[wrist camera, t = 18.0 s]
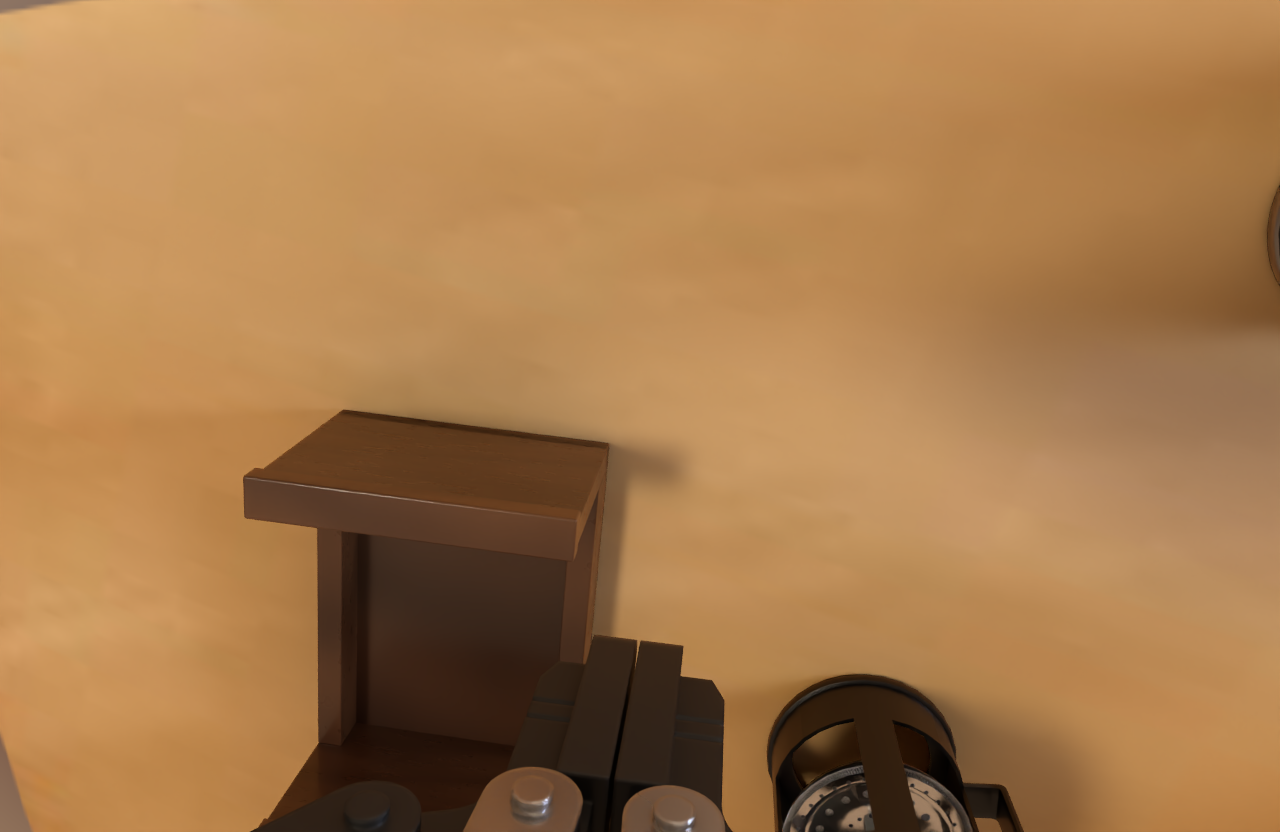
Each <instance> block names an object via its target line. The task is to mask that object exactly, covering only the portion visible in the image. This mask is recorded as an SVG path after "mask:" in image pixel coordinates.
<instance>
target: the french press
mask: <svg viewBox="0 0 1280 832" xmlns="http://www.w3.org/2000/svg"><path fill="white" fill-rule="evenodd" d="M849 722H854V723H855V728H856V734H857V739H858V744H859V750H860V755H861V760H860V761H854V762H851V763H847V764H843V765H841V766H838V767H836V768H834V769H831V770H829V771H827V772H825V773H824V774H822V775H821V776H819V777H817V778H816V779H814V780H813V781H812V782H811V783H810V784H809V785H808V786H806V787H805V788H804V789H803V788H802V786H801V784H800V783H799V781H798V779H797V778H796V775H795V772H794V769H793V763H792V758H793V753H794V752H795V751H796V750H797V749H798V748H799V747H800V746H801V745H802V744H803V743H804V742H805V741H806V740H808V739H810V738H811V737H813V736H814V735H816V734H817V733H819V732H821V731H823V730H826V729H828V728H831V727H833V726H836V725H840V724H845V723H849ZM893 724H896V725H899V726H903V727H906V728H909V729H911V730H913V731H915V732H917V733H919V734H921V735H923V736H924V737H925V739H926V741H927V743H928V746H929V751H930V763H929V768H928V773H927V774H926V773H925V772H923V771H921V770H919V769H917V768H915V767H912V766H910V765H907V764H904V763H903V761H902V757H901V753H900V749H899V745H898V741H897V738H896V734H895V730H894V726H893ZM767 762H768V771H769V774H770V777H771V780H772V783H773V799H774V819H775V832H782V828H783V832H979V831H978V828H977V825H976V822H975V819H974V817H975V818H992V819H995V820H997V821H998V823H999V825H1000V828H1001V830H1002V832H1024V831H1023V829H1022V826H1021V824H1020V821H1019V819H1018V816H1017V814H1016V811H1015V809H1014V806H1013V804H1012V801H1011V799H1010V796H1009V794H1008V791H1007V789H1006V788H1005V787H1004V786H1002V785H997V784H979V783H963V782H962V778H961V774H960V771H959V768H958V765H957V762H956V747H955V744H954V740H953V736H952V732H951V730H950V728H949V726H948V724H947V722H946V720H945V718H944V716H943V715H942V714H941V712H940V711H939V710H938V709H937V708H936V707H935V705H934V704H933V703H932V702H931V701H930V700H929V699H927V698H926V697H925V696H923V695H922V694H921V693H920V692H918V691H917V690H915V689H913V688H911V687H909V686H907V685H905V684H903V683H901V682H898V681H895V680H892V679H888V678H885V677H880V676H872V675H846V676H841V677H837V678H832V679H827V680H825V681H823V682H820V683H818V684H815V685H813V686H811V687H809V688H808V689H806V690H804V691H803V692H801V693H800V694H798V695H797V696H796V697H794V698H793V699H792V700H791V701H790V702H789V703H788V704H787V705H786V706H785V707H784V709H783V710H782V712H781V713H780V714H779V716H778V717H777V719H776V720H775V722H774V725H773V727H772V730H771V733H770V735H769V739H768V746H767Z"/></svg>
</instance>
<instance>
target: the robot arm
mask: <svg viewBox="0 0 1280 832" xmlns="http://www.w3.org/2000/svg"><path fill="white" fill-rule="evenodd" d="M1267 243H1268V253H1269V259H1270V263H1271V267H1272V270H1273V273H1274V275H1275V277H1276V280H1277V282H1278V283H1279V285H1280V187H1279V189H1278V191H1277V193H1276V196H1275V199H1274V201H1273V204H1272V208H1271V212H1270V216H1269V222H1268V233H1267ZM636 653H637V640H632V639H624V638H616V637H609V636H601V635H594V637H593V640H592V643H591V647H590V650H589V654H588V657H587V661H586V664H580V663H572V662H564V661H558V662H557V663H555V664H554V665H553V666H552V667H551V668H549V669H548V670H547V671H546V672H545V673H544V674H542V675H541V676H540V678H539V680H538V683H537V686H536V689H535V692H534V694H533V698H532V701H531V703H530V706H529V708H528V711H527V716H526V717H525V720H524V722H523V725H522V728H521V731H520V734H519V736H518V739H517V742H516V745H515V748H514V750H513V753H512V756H511V759H510V762H509V764H508V767H507V770H506V772H504V773H502V774H500V775H498V776H497V777H495V778H494V779H493V780H491V781H490V782H489V783H488V784H487V786H486V787H485V789H484V790H483V792H482V794H481V796H480V798H479V800H478V802H475V803H473V804H470V805H468V806H464V807H460V808H455V809H449V810H439V811H429V812H421V806H420V803H419V801H418V799H417V797H416V796H415V795H414V794H413V793H412V792H411V791H410V790H408V789H407V788H405V787H403V786H401V785H399V784H396V783H392V782H387V781H376V780H374V781H363V782H357V783H353V784H350V785H347V786H344V787H342V788H340V789H337V790H335V791H333V792H331V793H329V794H327V795H325V796H323V797H321V798H319V799H317V800H315V801H313V802H310V803H308V804H306V805H304V806H302V807H300V808H298V809H296V810H294V811H292V812H290V813H288V814H286V815H284V816H281V817H279V818H277V819H275V820H273V821H271V822H269V823H267V824H265V825H263V826H261V827H259V828H257V829H255V830H252V831H250V832H732V831H731V829H730V828H729V827H728V825H727V823H726V821H725V819H724V816H723V813H722V772H723V735H724V726H723V725H724V699H723V697H722V696H721V694H720V692H719V691H718V689H717V688H716V686H715V684H714V683H713V681H712V680H705V679H698V678H690V677H682V676H680V674H681V665H682V655H683V646H681V645H673V644H665V643H657V642H649V641H640V646H639V651H638V657H637V662H636ZM635 664H636V667H635Z"/></svg>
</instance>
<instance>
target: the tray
mask: <svg viewBox="0 0 1280 832" xmlns="http://www.w3.org/2000/svg"><path fill="white" fill-rule="evenodd" d="M608 456H609V444H608V443H602V442H594V441H586V440H578V439H570V438H562V437H554V436H546V435H538V434H530V433H522V432H514V431H506V430H498V429H491V428H483V427H475V426H467V425H459V424H451V423H443V422H435V421H427V420H419V419H411V418H403V417H395V416H387V415H379V414H371V413H363V412H355V411H347V410H342V411H341V412H339V413H338V414H337V415H335V416H334V417H333V418H331V419H330V420H328V421H327V422H326V423H324V424H323V425H322V426H320V427H319V428H318V429H316V430H315V431H314V432H312V433H311V434H310V435H308V436H307V437H306V438H304V439H303V440H302V441H300V442H299V443H298V444H296V445H295V446H293V447H292V448H291V449H289V450H288V451H287V452H285V453H284V454H283V455H281V456H280V457H279V458H277V459H276V460H275V461H273V462H272V463H271V464H269V465H268V466H267V467H265V468H264V469H260V468H254V469H253V470H251V471H250V472H249V473H247V474H246V475H245V476H244V477H243V483H244V516H245V518H247V519H255V520H262V521H270V522H277V523H285V524H292V525H300V526H307V527H315V528H317V550H318V737H319V743H318V745H317V746H316V748H315V749H314V751H313V752H312V754H311V755H310V757H309V758H308V760H307V761H306V763H305V764H304V766H303V767H302V769H301V770H300V772H299V773H298V775H297V776H296V778H295V779H294V781H293V782H292V784H291V785H290V787H289V788H288V790H287V791H286V793H285V794H284V796H283V797H282V799H281V800H280V802H279V803H278V805H277V806H276V808H275V809H274V811H273V812H272V814H271V815H270V817H269V818H268V819H264V820H263V821H262V823H261V824H260V826H259V827H261V826H263V825H265V824H267V823H269V822H271V821H273V820H275V819H277V818H279V817H281V816H284V815H286V814H288V813H290V812H292V811H294V810H296V809H298V808H300V807H302V806H304V805H306V804H308V803H310V802H313V801H315V800H317V799H319V798H321V797H323V796H325V795H327V794H329V793H331V792H333V791H335V790H337V789H340V788H342V787H344V786H347V785H350V784H353V783H357V782H363V781H374V780H376V781H387V782H392V783H396V784H399V785H401V786H403V787H405V788H407V789H408V790H410V791H411V792H412V793H413V794H414V795H415V796H416V797H417V799H418V801H419V803H420V806H421V812H429V811H439V810H449V809H455V808H460V807H464V806H468V805H470V804H473V803H475V802H478V800H479V798H480V796H481V794H482V792H483V790H484V789H485V787H486V786H487V784H488V783H489V782H490V781H491V780H493V779H494V778H495V777H497V776H498V775H500V774H502V773H504V772H506V770H507V767H508V764H509V762H510V759H511V756H512V753H513V750H514V748H515V745H516V742H517V739H518V736H519V734H520V731H521V728H522V725H523V722H524V720H525V717H526V716H527V711H528V708H529V706H530V703H531V701H532V698H533V694H534V692H535V689H536V686H537V683H538V680H539V678H540V676H541V675H542V674H544V673H545V672H546V671H547V670H548V669H549V668H551V667H552V666H553V665H554V664H555V663H557V662H558V661H564V662H572V663H580V664H586V661H587V657H588V654H589V650H590V647H591V638H592V627H593V617H594V606H595V595H596V585H597V574H598V563H599V552H600V542H601V531H602V520H603V510H604V499H605V488H606V477H607V467H608ZM259 827H258V828H259Z"/></svg>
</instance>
